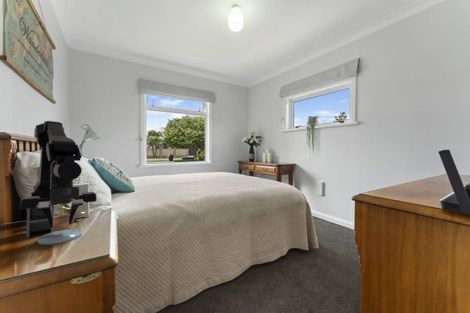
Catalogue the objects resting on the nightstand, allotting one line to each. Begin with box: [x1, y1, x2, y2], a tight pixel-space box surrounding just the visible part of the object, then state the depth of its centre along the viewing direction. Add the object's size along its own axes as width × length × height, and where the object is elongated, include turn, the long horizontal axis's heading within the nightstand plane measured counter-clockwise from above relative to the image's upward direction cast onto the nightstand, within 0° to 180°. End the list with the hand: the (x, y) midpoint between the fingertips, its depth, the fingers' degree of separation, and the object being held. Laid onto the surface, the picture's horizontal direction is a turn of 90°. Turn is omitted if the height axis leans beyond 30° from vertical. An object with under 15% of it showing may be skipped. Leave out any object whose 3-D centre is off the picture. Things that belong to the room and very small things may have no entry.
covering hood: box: [26, 203, 55, 223], centre depth 72 cm, size 7×7×5 cm
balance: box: [54, 205, 86, 224], centre depth 83 cm, size 16×5×8 cm, turn 130°
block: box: [53, 214, 70, 232], centre depth 67 cm, size 4×4×4 cm
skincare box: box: [73, 182, 91, 220], centre depth 93 cm, size 8×6×15 cm
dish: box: [37, 228, 83, 246], centre depth 67 cm, size 11×11×1 cm
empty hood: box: [26, 216, 53, 238], centre depth 72 cm, size 7×7×5 cm
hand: (61, 225), depth 67 cm, fingers closed on block, 4 cm apart
